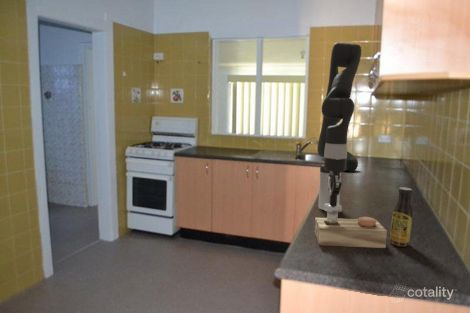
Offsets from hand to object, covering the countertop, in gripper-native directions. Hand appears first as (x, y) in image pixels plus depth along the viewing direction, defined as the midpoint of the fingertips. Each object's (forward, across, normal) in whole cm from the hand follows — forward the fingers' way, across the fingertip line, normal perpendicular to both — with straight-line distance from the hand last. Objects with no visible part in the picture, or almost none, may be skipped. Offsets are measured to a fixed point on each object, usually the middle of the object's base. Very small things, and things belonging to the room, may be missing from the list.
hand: (332, 205), depth 130 cm
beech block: (+13, 0, +6) cm, 14 cm away
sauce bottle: (+13, +2, +23) cm, 26 cm away
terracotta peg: (+13, 0, +12) cm, 17 cm away
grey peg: (+8, 0, 0) cm, 8 cm away
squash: (+12, -147, +37) cm, 152 cm away
